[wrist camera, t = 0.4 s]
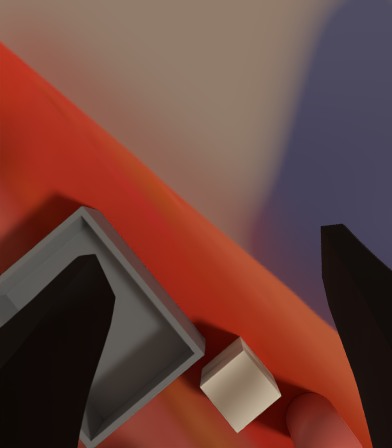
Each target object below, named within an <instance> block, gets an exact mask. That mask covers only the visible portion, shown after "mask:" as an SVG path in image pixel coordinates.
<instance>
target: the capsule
mask: <svg viewBox="0 0 392 448" xmlns="http://www.w3.org/2000/svg"><path fill="white" fill-rule="evenodd" d="M286 425H287V428H288V430H289V433H290V436H291V438H292V441H293V443H294V446H295V448H362V446H361V444H360V442H359V441H358V439H357V438H356V437H355V435H354V434H353V433H352V431H351V430H350V428H349V427H348V426H347V424H346V423H345V421H344V420H343V419H342V417H341V416H340V415H339V413H338V412H337V410H336V409H335V408H334V406H333V405H332V403H331V402H330V401H329V400H328V399H327V398H325V397H324V396H322V395H320V394H316V393H304V394H301V395H299V396H297V397H296V398H294V399H293V400H292V401H291V403H290V404H289V406H288V408H287V411H286Z"/></svg>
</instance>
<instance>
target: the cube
mask: <svg viewBox="0 0 392 448" xmlns="http://www.w3.org/2000/svg"><path fill="white" fill-rule="evenodd" d="M200 388H201V389H202V390H203V392H204V393H205V394H206V395H207V396H208V398H209V399H210V400H211V401H212V403H213V404H214V405H215V406H216V408H217V409H218V410H219V411H220V412H221V414H222V415H223V416H224V417H225V419H226V420H227V421H228V422H229V424H230V425H231V426H232V427H233V428H234V430H235V431H236V432H237V433H238V432H239V431H240V430H242V429H243V428H244V427H245V426H246V425H247V424H249V423H250V422H251V421H252V420H253V419H255V418H256V417H257V416H258V415H259V414H261V413H262V412H263V411H264V410H265V409H266V408H268V407H269V406H270V405H271V404H272V403H274V402H275V401H276V400H277V399H278V398H280V397H281V394H280V391H279V389H278V387H277V384H276V382H275V380H274V377H273V375H272V374H271V373H270V372H269V370H268V369H267V368H266V367H265V366H264V364H263V363H262V362H261V361H260V360H259V358H258V357H257V356H256V355H255V354H254V352H253V351H252V350H251V349H250V348H249V346H248V345H247V344H246V343H245V342H244V340H243V339H242V338H241V337H239V338H238V339H236V340H235V341H234V342H233V343H232V344H230V345H229V346H228V347H227V348H226V349H225V350H223V351H222V352H221V353H220V354H219V355H217V356H216V357H215V358H214V359H213V360H211V361H210V362H209V363H208V364H207V365H206V366H204V367H203V368H202V374H201V383H200Z"/></svg>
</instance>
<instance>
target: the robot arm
mask: <svg viewBox="0 0 392 448" xmlns="http://www.w3.org/2000/svg"><path fill="white" fill-rule="evenodd" d="M321 255H322V279H323V283H324V288H325V292H326V296H327V300H328V305H329V308H330V311H331V314H332V316H333V319H334V322H335V325H336V328H337V330H338V333H339V336H340V339H341V341H342V344H343V347H344V350H345V352H346V355H347V358H348V361H349V363H350V366H351V369H352V371H353V374H354V377H355V381H356V384H357V387H358V390H359V394H360V398H361V402H362V406H363V410H364V413H365V417H366V421H367V425H368V429H369V433H370V437H371V441H372V445H373V448H392V270H391V269H390V268H388V267H387V266H386V265H385V264H384V263H383V262H382V261H381V260H379V259H378V258H377V257H376V256H375V255H374V254H373V253H372V252H371V251H370V250H369V249H368V248H366V246H365V245H363V244H362V243H361V242H360V241H359V239H357V238H356V236H355V235H354V234H352V232H351V231H350V230H349V229H348V228H347V227H346V226H345V225H343V224H336V225H329V226H321ZM115 299H116V296H115V294H114V292H113V290H112V288H111V286H110V284H109V281H108V279H107V277H106V275H105V273H104V271H103V269H102V266H101V264H100V262H99V260H98V258H97V256H96V254H89V255H81V256H78V257H77V258H75V259H74V260H73V261H72V262H71V263H70V264H69V265H68V266H66V267H65V268H64V269H63V270H62V271H61V272H60V273H59V274H58V275H57V276H56V277H55V278H54V279H53V280H52V281H51V282H50V283H49V284H48V285H47V286H46V287H44V288H43V289H42V290H41V291H40V292H39V293H38V294H37V295H36V296H35V297H34V298H33V299H32V300H31V301H30V302H29V303H27V304H26V305H25V306H24V307H23V308H22V309H21V310H20V311H18V312H17V313H16V314H15V315H14V316H13V317H12V318H11V319H10V320H8V321H7V322H6V323H5V324H4V325H3V326H1V327H0V448H77V446H78V441H79V436H80V431H81V426H82V421H83V417H84V412H85V408H86V403H87V399H88V396H89V392H90V388H91V385H92V382H93V379H94V376H95V373H96V370H97V367H98V364H99V361H100V358H101V355H102V352H103V349H104V346H105V342H106V339H107V336H108V333H109V330H110V326H111V322H112V317H113V312H114V305H115Z"/></svg>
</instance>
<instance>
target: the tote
mask: <svg viewBox="0 0 392 448" xmlns="http://www.w3.org/2000/svg"><path fill="white" fill-rule="evenodd" d="M89 254H96V256H97V258H98V260H99V262H100V264H101V266H102V269H103V271H104V273H105V275H106V277H107V279H108V281H109V284H110V286H111V288H112V290H113V292H114V294H115V296H116V299H115V305H114V312H113V317H112V322H111V326H110V330H109V333H108V336H107V339H106V342H105V346H104V349H103V352H102V355H101V358H100V361H99V364H98V367H97V370H96V373H95V376H94V379H93V382H92V385H91V388H90V392H89V396H88V399H87V403H86V408H85V412H84V417H83V421H82V426H81V431H80V436H79V438H80V439H81V441H82V442H83V443H84V445H85V446H86V447H87V448H94V447H96V446H97V445H98V444H99V443H100V442H102V441H103V440H104V439H105V438H106V437H107V436H109V435H110V434H111V433H112V432H113V431H115V430H116V429H117V428H118V427H119V426H120V425H122V424H123V423H124V422H125V421H126V420H128V419H129V418H130V417H131V416H132V415H134V414H135V413H136V412H137V411H138V410H139V409H141V408H142V407H143V406H144V405H145V404H147V403H148V402H149V401H150V400H151V399H152V398H154V397H155V396H156V395H157V394H158V393H160V392H161V391H162V390H163V389H164V388H165V387H167V386H168V385H169V384H170V383H171V382H173V381H174V380H175V379H176V378H177V377H178V376H180V375H181V374H182V373H183V372H184V371H186V370H187V369H188V368H189V367H190V366H192V365H193V364H194V363H195V362H196V361H197V360H199V359H200V358H201V357H202V356H203V355H204V354H205V345H206V339H205V338H204V337H203V336H202V334H201V333H200V332H199V331H198V330H197V328H196V327H195V326H194V325H193V323H192V322H191V321H190V320H189V319H188V317H187V316H186V315H185V314H184V313H183V311H182V310H181V309H180V308H179V306H178V305H177V304H176V303H175V302H174V300H173V299H172V298H171V297H170V296H169V294H168V293H167V292H166V291H165V289H164V288H163V287H162V286H161V285H160V283H159V282H158V281H157V280H156V279H155V277H154V276H153V275H152V274H151V273H150V271H149V270H148V269H147V268H146V266H145V265H144V264H143V263H142V262H141V260H140V259H139V258H138V257H137V256H136V254H135V253H134V252H133V251H132V249H131V248H130V247H129V246H128V245H127V243H126V242H125V241H124V240H123V239H122V237H121V236H120V235H119V234H118V232H117V231H116V230H115V229H114V228H113V226H112V225H111V224H110V223H109V222H108V220H107V219H106V218H105V217H104V216H103V214H102V213H101V212H100V211H99V210H95V209H92V208H88V207H85V206H82V207H80V208H79V209H78V210H77V211H76V212H74V213H73V214H72V215H71V216H70V217H69V218H67V219H66V220H65V221H64V222H63V223H62V224H60V225H59V226H58V227H57V228H56V229H54V230H53V231H52V232H51V233H50V234H49V235H47V236H46V237H45V238H44V239H43V240H42V241H40V242H39V243H38V244H37V245H36V246H35V247H33V248H32V249H31V250H30V251H29V252H27V253H26V254H25V255H24V256H23V257H22V258H20V259H19V260H18V261H17V262H16V263H15V264H13V265H12V266H11V267H10V268H9V269H8V270H6V271H5V272H4V273H3V274H2V275H0V327H1V326H3V325H4V324H5V323H6V322H7V321H8V320H10V319H11V318H12V317H13V316H14V315H15V314H16V313H17V312H18V311H20V310H21V309H22V308H23V307H24V306H25V305H26V304H27V303H29V302H30V301H31V300H32V299H33V298H34V297H35V296H36V295H37V294H38V293H39V292H40V291H41V290H42V289H43V288H44V287H46V286H47V285H48V284H49V283H50V282H51V281H52V280H53V279H54V278H55V277H56V276H57V275H58V274H59V273H60V272H61V271H62V270H63V269H64V268H65V267H66V266H68V265H69V264H70V263H71V262H72V261H73V260H74V259H75V258H77V257H78V256H81V255H89Z"/></svg>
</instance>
